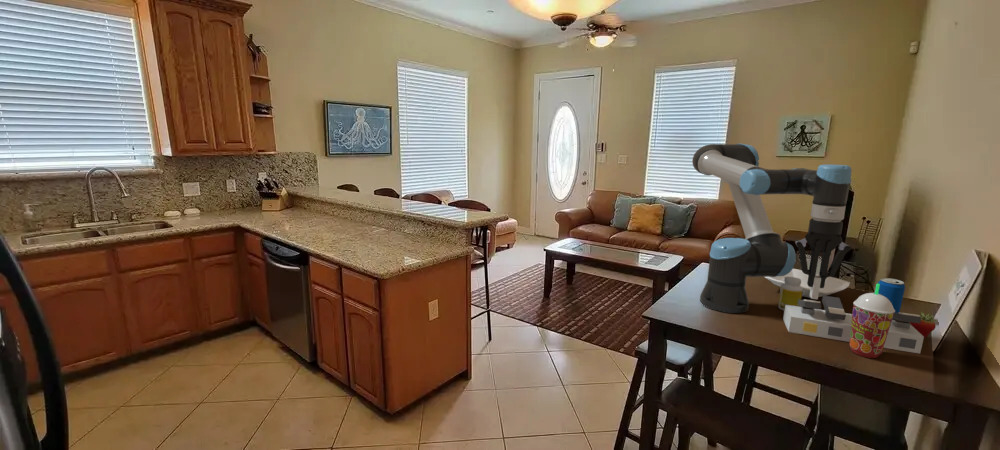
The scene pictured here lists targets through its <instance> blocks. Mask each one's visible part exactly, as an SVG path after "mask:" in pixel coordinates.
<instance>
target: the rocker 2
mask: <svg viewBox="0 0 1000 450" xmlns="http://www.w3.org/2000/svg"><path fill="white" fill-rule="evenodd" d="M821 302H822V304H823V308H824V309H823V310H825V312H826V315H827V318H833V319H839V320H845V317H846V314H845V313H846V312H845V309H844V307H843V303H842V302H841V298H840V297H836V296H829V295H826V296H822V298H821Z"/></svg>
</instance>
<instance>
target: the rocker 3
mask: <svg viewBox="0 0 1000 450" xmlns="http://www.w3.org/2000/svg"><path fill="white" fill-rule="evenodd" d="M920 316H921V315H920V314H917V315H916V314H914V313H907V312H901V311H900V312H899V313H895V312H894V315H893V318H892V320H898V321H905V322H909V323H910V322H913V323H921V317H920Z"/></svg>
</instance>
